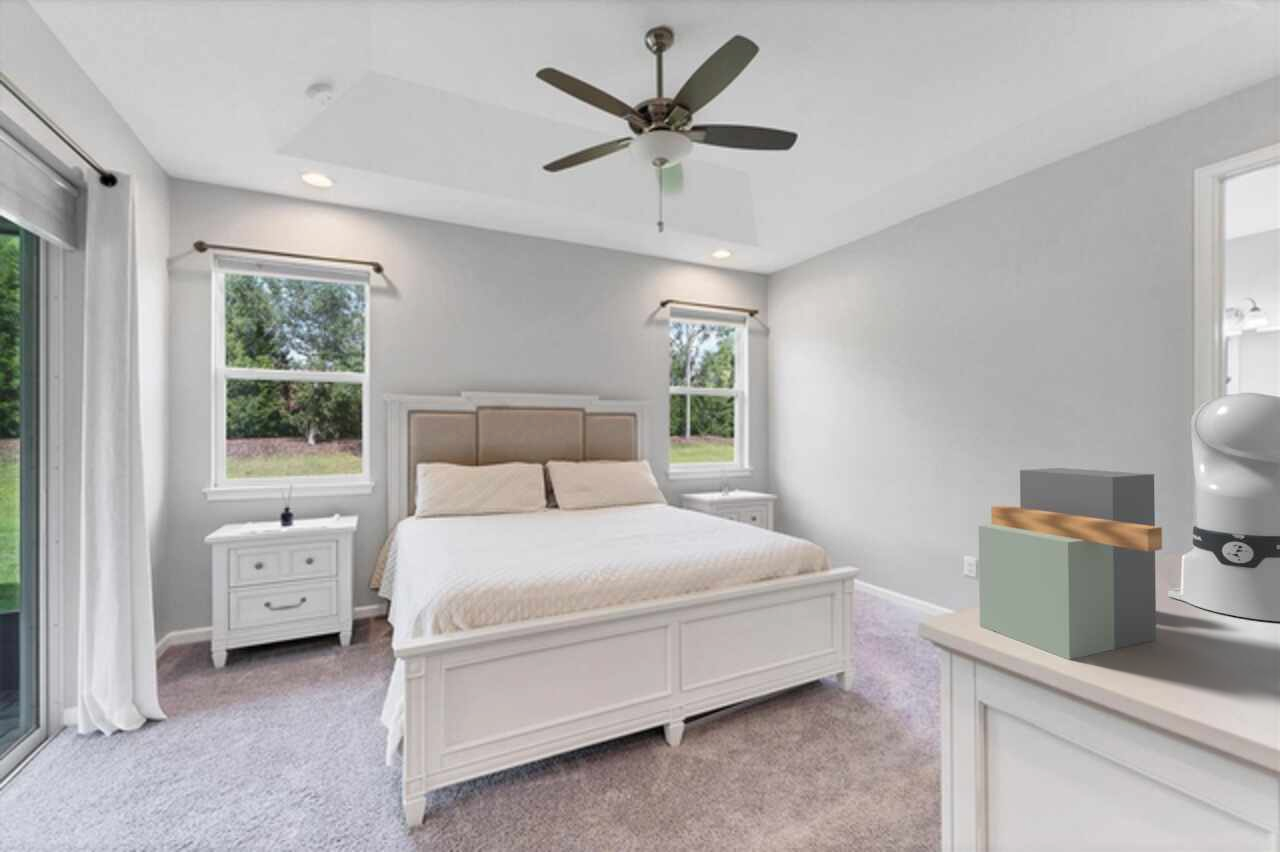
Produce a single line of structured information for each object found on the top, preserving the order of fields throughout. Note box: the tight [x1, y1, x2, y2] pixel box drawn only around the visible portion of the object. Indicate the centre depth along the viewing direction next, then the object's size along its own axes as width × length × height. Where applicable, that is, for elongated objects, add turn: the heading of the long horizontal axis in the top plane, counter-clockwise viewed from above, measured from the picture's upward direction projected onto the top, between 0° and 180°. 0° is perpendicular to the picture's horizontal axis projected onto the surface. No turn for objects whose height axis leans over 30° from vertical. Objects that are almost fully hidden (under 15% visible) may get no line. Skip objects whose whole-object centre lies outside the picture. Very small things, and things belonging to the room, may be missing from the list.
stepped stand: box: [978, 467, 1157, 660], centre depth 88 cm, size 14×20×26 cm
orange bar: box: [990, 504, 1163, 552], centre depth 83 cm, size 22×3×3 cm, turn 20°
